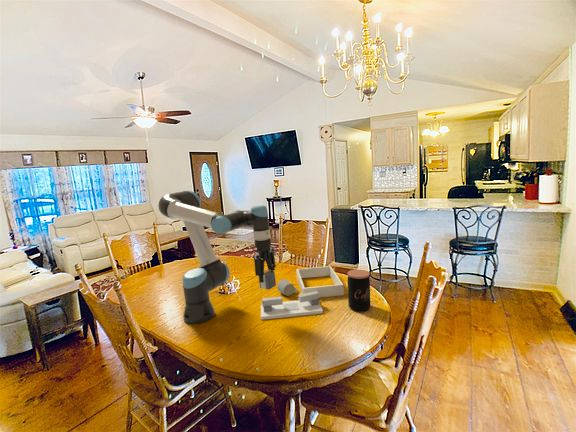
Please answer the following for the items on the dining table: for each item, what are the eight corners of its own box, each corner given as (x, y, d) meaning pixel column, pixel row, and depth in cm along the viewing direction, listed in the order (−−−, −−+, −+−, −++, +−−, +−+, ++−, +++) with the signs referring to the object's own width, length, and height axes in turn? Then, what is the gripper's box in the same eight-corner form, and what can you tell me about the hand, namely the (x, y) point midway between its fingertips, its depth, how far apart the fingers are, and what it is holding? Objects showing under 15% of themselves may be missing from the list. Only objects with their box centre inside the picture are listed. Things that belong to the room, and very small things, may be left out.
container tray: (303, 299, 171) (303, 288, 170) (297, 278, 202) (296, 269, 201) (343, 295, 172) (343, 284, 171) (330, 274, 204) (330, 265, 203)
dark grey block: (269, 289, 147) (267, 273, 146) (260, 288, 150) (258, 272, 149) (276, 285, 152) (274, 269, 151) (266, 283, 155) (265, 268, 154)
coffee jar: (354, 314, 150) (353, 278, 147) (344, 304, 161) (343, 271, 158) (374, 310, 153) (373, 274, 150) (363, 301, 163) (362, 267, 160)
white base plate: (261, 319, 151) (259, 306, 150) (261, 306, 165) (260, 294, 164) (322, 313, 153) (322, 299, 152) (317, 301, 167) (317, 288, 166)
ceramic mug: (284, 298, 173) (284, 285, 172) (277, 293, 180) (276, 280, 179) (300, 293, 179) (300, 280, 177) (293, 289, 186) (292, 276, 184)
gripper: (256, 244, 138) (262, 294, 141) (280, 234, 153) (284, 280, 157) (243, 243, 142) (249, 292, 146) (267, 233, 157) (272, 278, 161)
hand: (267, 285), depth 151 cm, fingers closed on dark grey block, 5 cm apart
